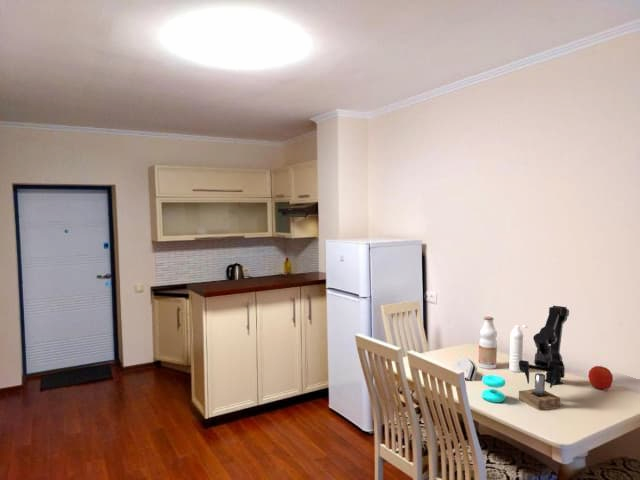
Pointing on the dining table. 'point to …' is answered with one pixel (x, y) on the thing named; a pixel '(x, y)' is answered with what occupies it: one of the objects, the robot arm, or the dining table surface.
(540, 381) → the steel pin
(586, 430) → the dining table surface
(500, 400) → the donuts
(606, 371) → the apple
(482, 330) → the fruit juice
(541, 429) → the dining table surface
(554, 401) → the block
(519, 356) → the water bottle
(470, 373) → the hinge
